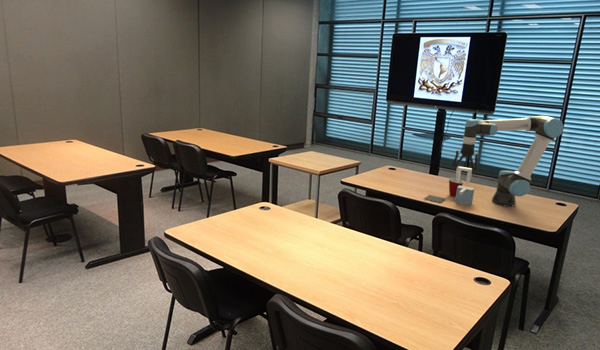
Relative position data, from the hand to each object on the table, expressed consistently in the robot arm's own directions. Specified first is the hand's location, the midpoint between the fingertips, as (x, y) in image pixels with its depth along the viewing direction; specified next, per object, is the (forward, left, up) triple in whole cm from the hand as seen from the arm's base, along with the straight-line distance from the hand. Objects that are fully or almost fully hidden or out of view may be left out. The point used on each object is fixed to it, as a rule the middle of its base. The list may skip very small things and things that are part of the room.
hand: (463, 177), depth 285 cm
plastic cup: (+9, -22, -20) cm, 32 cm away
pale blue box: (0, 0, -4) cm, 4 cm away
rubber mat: (+17, -3, -20) cm, 27 cm away
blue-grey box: (-1, -4, -20) cm, 21 cm away
